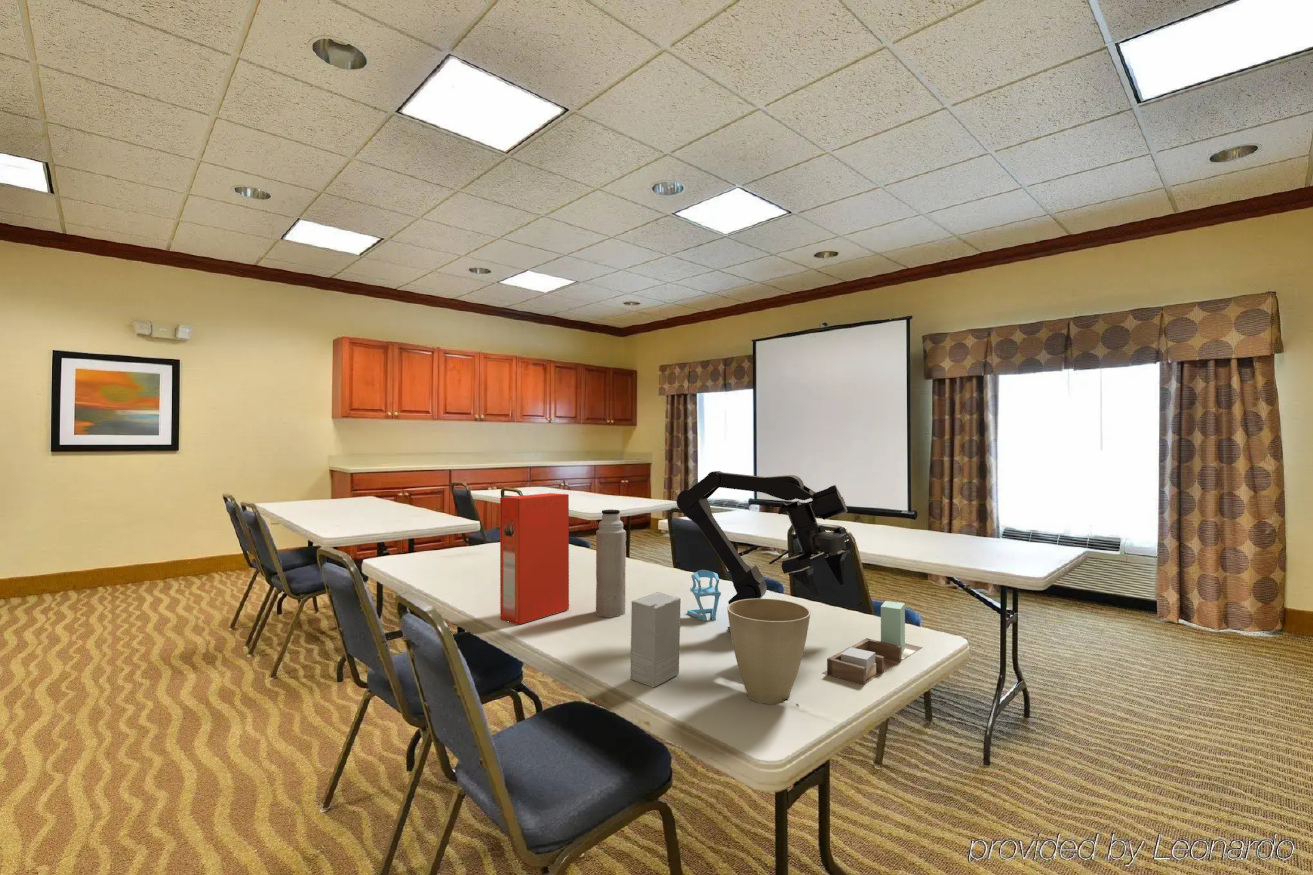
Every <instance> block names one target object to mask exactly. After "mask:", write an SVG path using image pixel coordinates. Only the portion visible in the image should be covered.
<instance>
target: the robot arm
mask: <svg viewBox="0 0 1313 875" xmlns="http://www.w3.org/2000/svg"><path fill="white" fill-rule="evenodd" d="M719 488H720V489H731V490H740V491H749V492H756V493H762V494H765V495H768V496H770V497H774V498H777V499H779V500H783V501H793V500H796V501H793V502H790V503H786V502H781V504H780V508H779V509H778V511H777V514H779V515H781V514H784V513H786V514H787V516H788V519H789V521H790V523H791V527H792V529H793V532H794V534H792V535H791V537H792V540H797V543H798V545H799V548H800V551H798V552H797V553H798V555H795V556H791V557H789V558H786V559H784V560H781V565H780V567H781V570H782V572H783V574H787V575H788V576H792V577H793V578H794V579H796V580H797V581H798V582H799V583H800V584H801V585H802V586H803V587H804V588H805V589H806V591H808V592H809V593H810V594H811V595H812V596H813V598H816V599H817V598H820V594H819V593H820V592H819V590H818V587H817V584H816V581H815V578H814V575H813V572H814V568H815V566H814V565H813V566H811V564H812V562H813V561H816V560H818V559H820V558H822V557H824V558H823V559H824V561H825V562H826V564H827V566H828V567H829V569H830V570H831V573H832V574H833V576H834V578H835V579H836V581H837V582H838V584H839V585H840V586H844V585H845V558H846V557H847V554H849V553H850V550H849V549H852V545H851V542H850V537H849V534H848V531H847V529H846V528H845V527H844V526H837V527H834V529H833V530H831V531H827V530H826V528H825V526H824V525H819V523H818V521H817V518H822V520H824V521H825V520H828V519H831V518H834V517H837V516H840V515H844V514H846V513H848V507H847V504H846V502H845V499H844V497H843V496H842V495H841V492H840V490H839V489H838V487H837V485H836V484H833V485H830V486H829V487H827V488H825V489H822V490H819V491H817V492H816V491H814V490H813V489H811V488H809V487H808V486H806V485H805V484H804V481H803V480H802V478H801V477H799V476H798V475H794V474H789V475H775V476H759V475H749V474H741V473H730V472H723V471H720V470H714V471H710V472H709V473H707V475H706V476H704V477H703V479H700V480H699V481H698V482H696V483H695V484H693V486H691V487H690V488H689V489H683V490H682V491H680V492H679V493H678V495H677V497H676V505H677V508H678V509H679V510H680V511H681V512H682V514H683V515H685V516H686V518H688V519H689V520H690V521H692V522H693V523H694V524H695V525H696V526H697V527H698V528H699V529H700V531H701V532H702V534H703V535H704V537H705V538H706V539H707V541H708V543H709V544H710V546H711V547H712V549H713V550H714V552H715V554H716V555H717V556H718V557H719V559H720V560H721V562H722V563H723V565H724V566H725V568H726V570H727V571H728V572H729V574H730V577H731V581H732V585H733V588H734V590H735V592H736V594H735V595H733V596H732V598H730V599H729V600H728V602H727V603H728V605H729V604H731V603H732V602H735V601H739V600H744V599H763V598H764V596H765V594H766V593H767V587H768V586H767V583H766V579H767V577H766V576H764V575H763V574H762V573H761V571H760V569H759V567H758V566H757V565H754V566H752V567H751V566H750V565H749V564H747V563H746V562H745V560H743V558H742V557H741V555H740V554H739V552H738V551H737V549H736V548H735V546H734V545H733V543H732V542H731V540H730V539H729V538H728V536H727V535H726V533H725V531H724V530H723V529H722V527H721V526H720V524H719V523H718V521H717V520H716V519H715V517H714V515H713V512H712V508H711V506H710V502H709V501H708V498H710V497H711V496H712V495H713V494H714V493H715V492H716V491H717V490H718V489H719ZM809 499H812V500H810V501H807V500H809ZM800 501H807V502H804V503H801V502H800ZM811 505H812V506H811ZM816 517H817V518H816ZM727 630H728V631H730V626H727Z"/></svg>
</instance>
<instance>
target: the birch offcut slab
mask: <svg viewBox="0 0 1313 875" xmlns="http://www.w3.org/2000/svg"><path fill="white" fill-rule="evenodd" d="M875 674H876V663H874V664H873V665H872V666H871V667H870V668H869V669H867V670H866V680H867V679H868V678H870V677H872V676H873V675H875Z"/></svg>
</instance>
